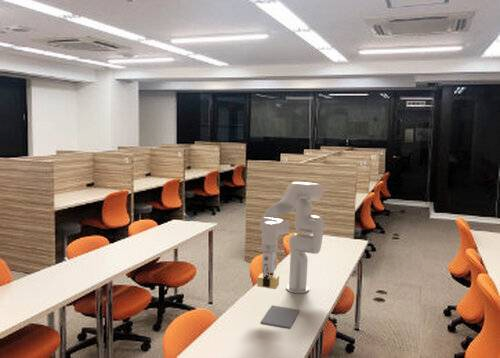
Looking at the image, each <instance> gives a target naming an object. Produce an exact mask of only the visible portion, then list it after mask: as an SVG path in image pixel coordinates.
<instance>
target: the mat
mask: <svg viewBox="0 0 500 358" xmlns="http://www.w3.org/2000/svg"><path fill="white" fill-rule="evenodd" d="M299 313H300V309H297V308H291V307H283V306H278V305H271V306H270V307H269V309H268V310H267V311H266V314H265V315H264V316H263V318H262V319H261V321H260V324H263V325H268V326H269V325H270V326H274V327H279V328H286V329H291V327H292V325H293V324H294V322H295V320H296V319H297V316H298V315H299Z"/></svg>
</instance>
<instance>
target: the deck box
mask: <svg viewBox="0 0 500 358" xmlns="http://www.w3.org/2000/svg"><path fill="white" fill-rule="evenodd" d="M266 274H267V273H266ZM267 275H268V274H267ZM269 279H270V286H269V287H264V286H263V272H262V273H260V274H259V275H258V276H257V281H256V283H257V284H256V286H257V287H259V288H264V289H271V290H276V289H277V288H278V287H279V285H280V275H275V274H274V275H270V276H269Z"/></svg>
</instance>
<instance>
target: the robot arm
mask: <svg viewBox="0 0 500 358" xmlns="http://www.w3.org/2000/svg"><path fill="white" fill-rule="evenodd" d="M323 194H324V188H323V186H322V184H320V183H315V182H314V183H313V182H305V181H293V182H290V183H289V184H288V185H287V188H286V189H285V191H284V193H283V195H282V197H281V199H280V201H277V202H275V203H274V204H272V205H271V206H269V207H268V208H267V209H266V210H265V211H264V213H263V215H262V217H261V219H260V223H259V227H260V230H261V232H262V233H261V251H262V258H261V259H262V261H261V272H262V273H263V286H264V287H269V286H270V279H269V276H270V275H275V274H274V273H275V270H277V267H278V264H277V263H278V261H277V259H278V254H277V253H278V248H279V247H278V246H279V244H278V242H279V241H278V240H279V236H282V235H283V236H284V235H286V234H287V233H288V232H289V231H290V223H289V221H288V220H286V219H283V218H277V217H278V216H280V215H285V214H288V213H289V214H290V213H292V212H294V211H295V210H296V211H295V218H294V229H295V230H297V231H299V233H296V232H295V233H293V234H292V235H291V236H290V237H289V242H288V243H289V250H290V251H289V253H290V256H289V257H290V259H289V261H290V262H289V277H288V279H289V280H288V284H287V285H286V287H285V289H286V291H288V292H289V293H292V294H306V293H307V292H309V291H310V287H309V286H308V285H307V279H308V261H309V260H308V256H307V254H306V253H308V254H314V255H317V254H319V253H320V251H321V248H322V244H323V243H322V242H323V237H324V236H323V234H324V228H325V224H324V223H325V222H324V219H323V218H322V217H321V216H319V215H313V214H312V213H313V203H312V202H311V201H317V200H320V199H321V198H323V197H322V196H323ZM300 232H304V233H300ZM305 233H310V234H311V235H310V234H305ZM267 274H268V275H267ZM264 287H263V288H264Z"/></svg>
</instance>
